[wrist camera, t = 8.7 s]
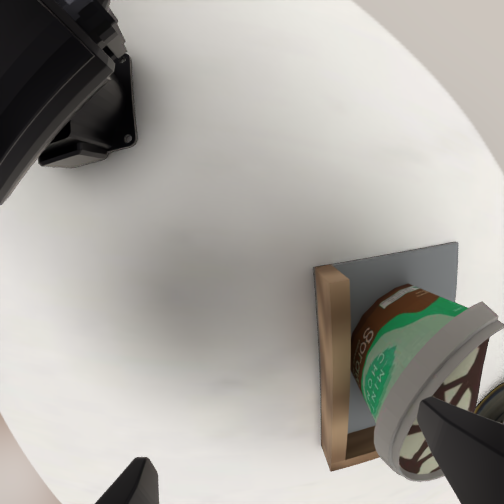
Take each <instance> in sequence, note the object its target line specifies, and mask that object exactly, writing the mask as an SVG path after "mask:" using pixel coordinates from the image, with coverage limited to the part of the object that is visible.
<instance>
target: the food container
mask: <svg viewBox="0 0 504 504" xmlns="http://www.w3.org/2000/svg"><path fill="white" fill-rule="evenodd" d="M503 328H504V324H503V323H501V322H500V321H498V315H497V314H496V313H495V312H493V311H492V310H491V309H490V308H489V307H488V306H487V305H486V304H485V303H483V302H480V303H478V304H476V305H473V306H471V307H470V308H467V307H465V306H462V305H460V304H457V303H455V302H453V301H450V300H448V299H445V298H443V297H440V296H438V295H435V294H433V293H431V292H428V291H426V290H423V289H421V288H418V287H416V286H413V285H411V284H405V285H402V286H399V287H396V288H394V289H392V290H391V291H389V292H388V293H386V294H385V295H383V296H382V297H380V298H378V299H377V300H376V301H375V302H374V303H373V304H372V306H371V307H370V308H369V309H368V310H367V311H366V312H365V313H364V314H363V315H362V317H361V319H360V320H359V322H358V324H357V326H356V327H355V329H354V331H353V332H352V336H351V367H350V370H351V372H352V374H353V376H354V378H355V380H356V382H357V384H358V387H359V389H360V391H361V393H362V395H363V397H364V399H365V401H366V403H367V405H368V408H369V410H370V412H371V414H372V416H373V418H374V420H375V423H376V426H375V430H374V444H375V449H376V451H377V453H378V455H379V456H380V458H381V459H382V460H383V461H384V462H385V463H386V464H387V465H388V466H389V467H390V468H391V469H392V470H393V471H395V472H396V473H397V474H399V475H401V476H403V477H405V478H406V479H408V480H411V481H418V482H422V481H430V480H434V479H438V478H440V477H443V476H445V475H444V473H443V472H442V470H441V468H440V467H439V465H438V463H437V462H436V460H435V458H434V457H433V455H432V453H431V451H430V449H429V446H428V444H427V442H426V440H425V437H424V435H423V433H422V431H421V429H420V427H419V424H418V422H417V413H418V409H419V404H420V401H421V400H423V399H425V398H427V397H430V396H432V397H435V398H437V399H440V400H442V401H445V402H447V403H450V404H452V405H455V406H457V407H460V408H462V409H465V410H467V411H470V412H472V413H474V411H475V407H476V403H477V399H478V393H479V387H480V380H481V375H482V369H483V364H484V360H485V355H486V351H487V346H488V342H489V337H491V336H492V335H493V334H495V333H496V332H498V331H500V330H501V329H503Z"/></svg>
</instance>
